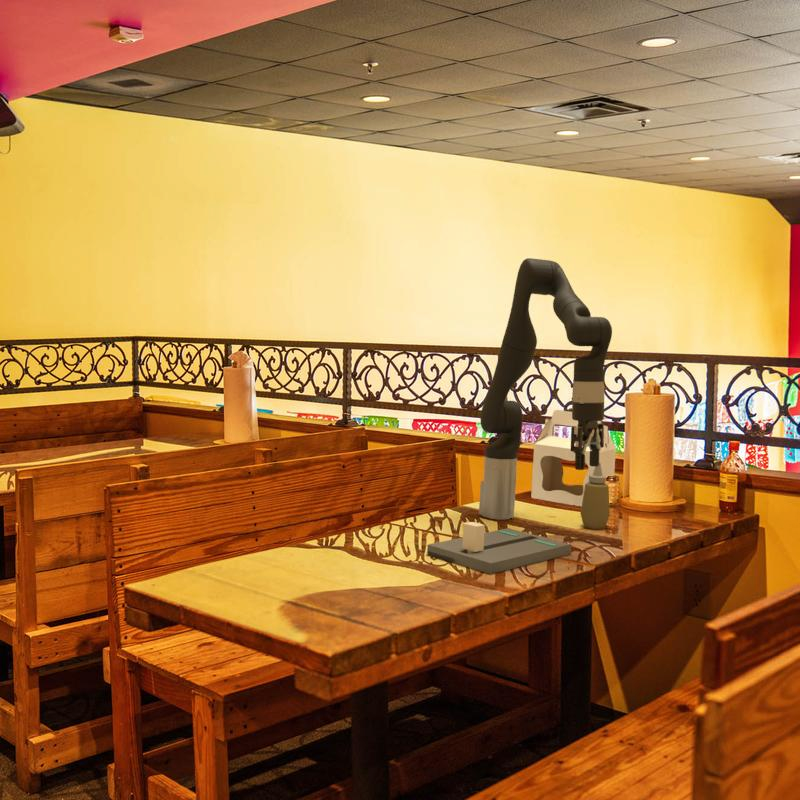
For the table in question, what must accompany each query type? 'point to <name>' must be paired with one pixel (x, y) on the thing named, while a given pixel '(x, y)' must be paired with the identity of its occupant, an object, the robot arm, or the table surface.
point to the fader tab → (473, 537)
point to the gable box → (550, 466)
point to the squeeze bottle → (595, 501)
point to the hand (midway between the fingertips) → (587, 467)
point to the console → (501, 551)
